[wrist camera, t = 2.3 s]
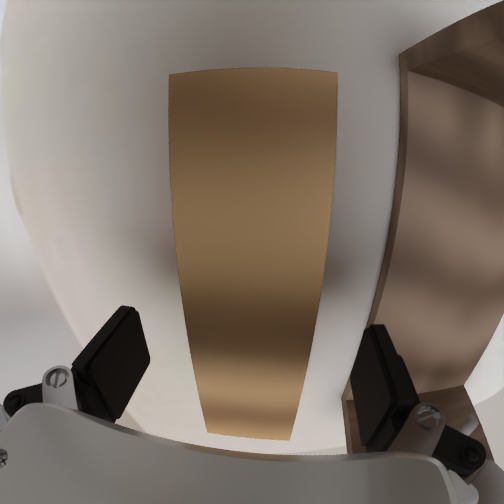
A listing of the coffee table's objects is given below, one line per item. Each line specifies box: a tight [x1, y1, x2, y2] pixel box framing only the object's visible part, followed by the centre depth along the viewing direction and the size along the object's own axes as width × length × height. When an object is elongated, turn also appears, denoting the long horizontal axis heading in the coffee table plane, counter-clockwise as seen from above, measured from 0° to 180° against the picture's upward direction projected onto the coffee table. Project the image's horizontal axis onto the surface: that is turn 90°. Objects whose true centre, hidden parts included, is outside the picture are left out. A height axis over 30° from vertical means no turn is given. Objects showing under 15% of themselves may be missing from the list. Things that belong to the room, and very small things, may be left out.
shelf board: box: [169, 68, 338, 440], centre depth 13 cm, size 18×5×6 cm, turn 179°
